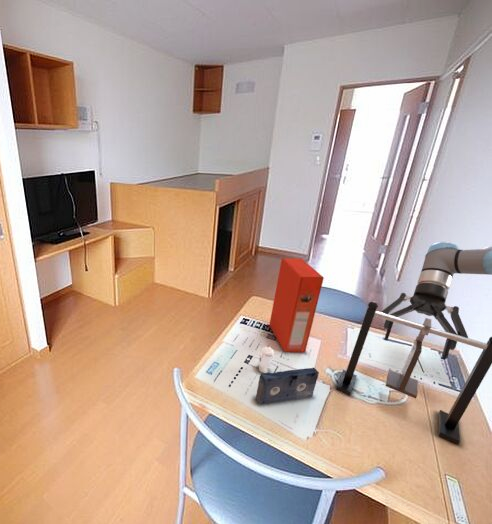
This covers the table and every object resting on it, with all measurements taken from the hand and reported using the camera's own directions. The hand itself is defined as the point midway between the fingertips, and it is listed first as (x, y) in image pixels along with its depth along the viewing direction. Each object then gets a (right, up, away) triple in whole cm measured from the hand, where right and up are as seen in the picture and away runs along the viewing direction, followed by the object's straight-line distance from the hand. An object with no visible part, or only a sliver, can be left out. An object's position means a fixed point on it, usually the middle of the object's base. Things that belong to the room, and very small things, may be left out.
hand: (413, 348), depth 92 cm
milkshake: (-40, -12, +16) cm, 44 cm away
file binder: (-24, -5, +32) cm, 40 cm away
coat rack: (-5, -18, +2) cm, 19 cm away
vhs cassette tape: (-38, -17, +4) cm, 42 cm away
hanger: (-5, -10, -1) cm, 12 cm away
